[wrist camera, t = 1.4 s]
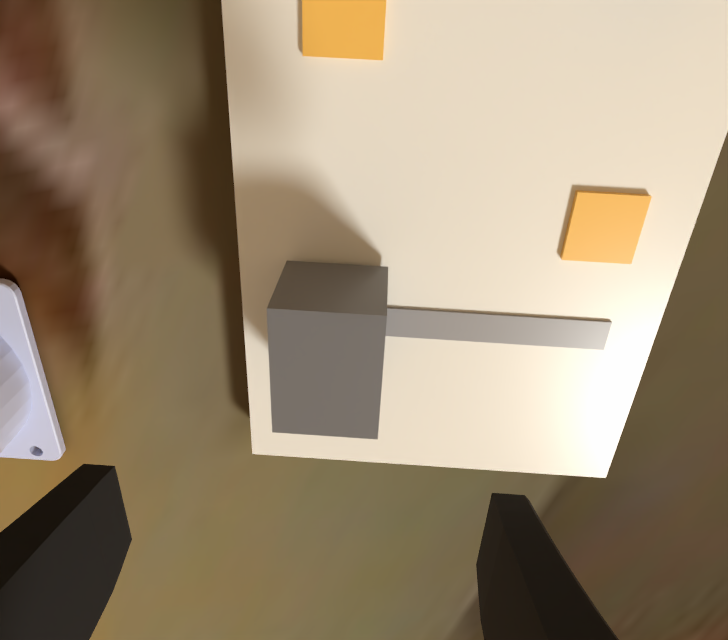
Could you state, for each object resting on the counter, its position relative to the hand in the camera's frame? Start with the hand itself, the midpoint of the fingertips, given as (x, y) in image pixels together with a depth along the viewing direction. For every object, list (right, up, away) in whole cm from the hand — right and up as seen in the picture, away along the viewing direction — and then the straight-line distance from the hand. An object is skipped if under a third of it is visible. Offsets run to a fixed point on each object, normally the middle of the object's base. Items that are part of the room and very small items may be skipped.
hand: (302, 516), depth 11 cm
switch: (0, +4, +7) cm, 8 cm away
